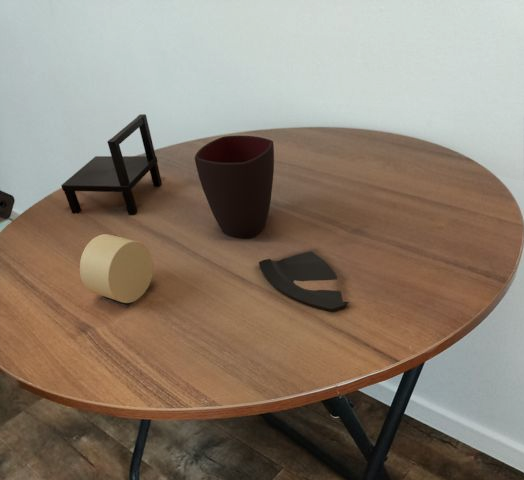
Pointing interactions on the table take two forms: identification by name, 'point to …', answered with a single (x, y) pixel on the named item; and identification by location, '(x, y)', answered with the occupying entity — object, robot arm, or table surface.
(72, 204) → the chair
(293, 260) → the fan shaped piece
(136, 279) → the short beige cylinder
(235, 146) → the cup
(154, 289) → the table surface
